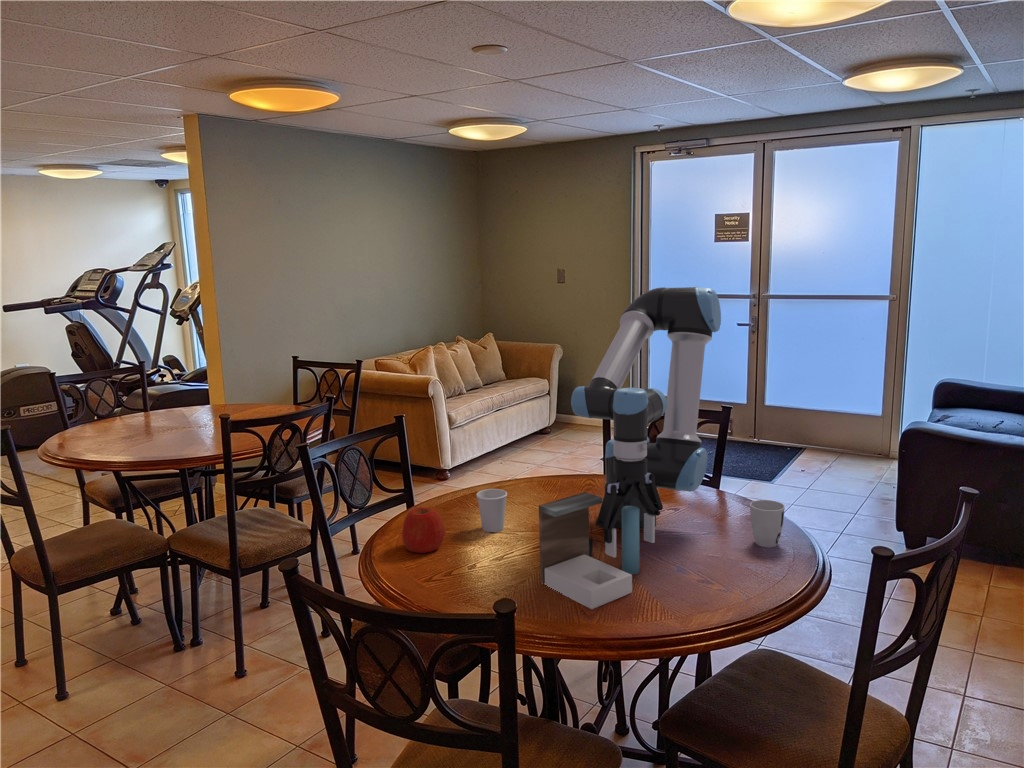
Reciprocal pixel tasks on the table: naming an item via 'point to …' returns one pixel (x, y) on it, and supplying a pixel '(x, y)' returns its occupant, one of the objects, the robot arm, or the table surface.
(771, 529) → the cup
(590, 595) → the socket
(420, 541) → the apple
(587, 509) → the awning
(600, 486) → the table surface
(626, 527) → the peg
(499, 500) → the dixie cup
